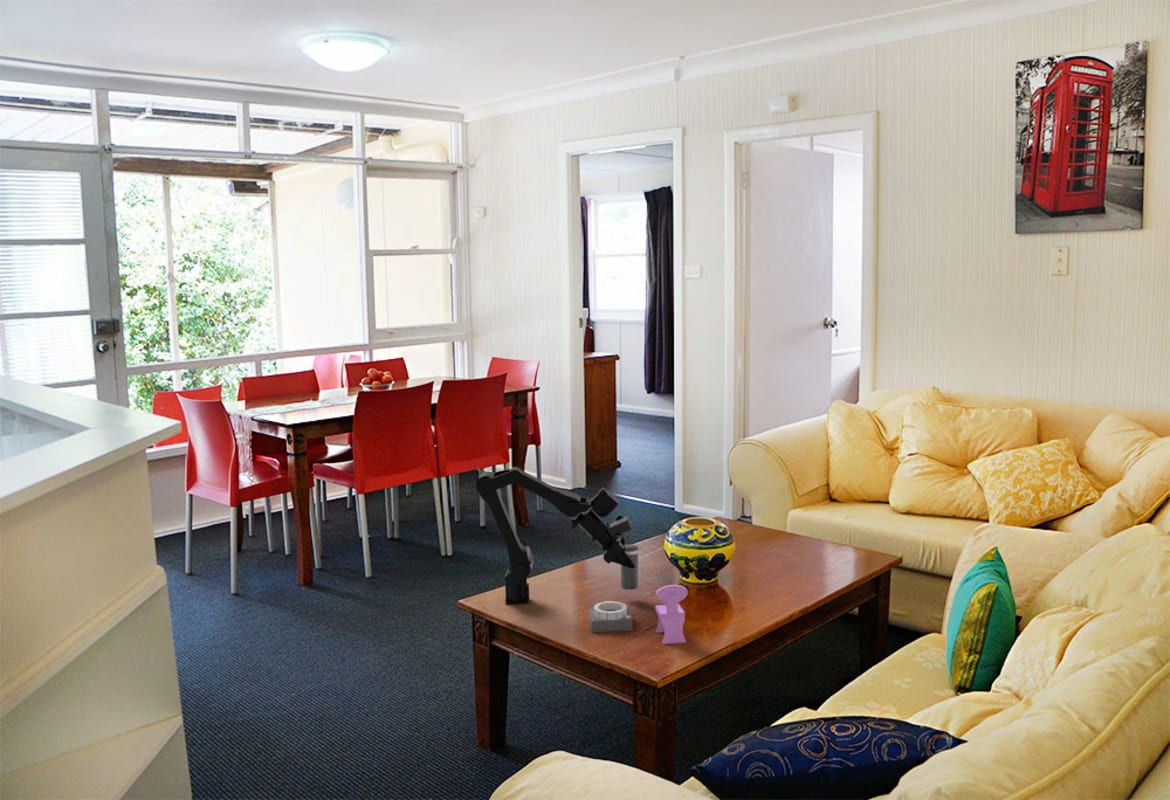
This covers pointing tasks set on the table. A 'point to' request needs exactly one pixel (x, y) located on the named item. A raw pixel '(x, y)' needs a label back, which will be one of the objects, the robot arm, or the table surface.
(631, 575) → the grey domed cylinder
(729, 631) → the table surface
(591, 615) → the ringed square flange
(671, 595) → the toy chair
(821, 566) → the table surface
